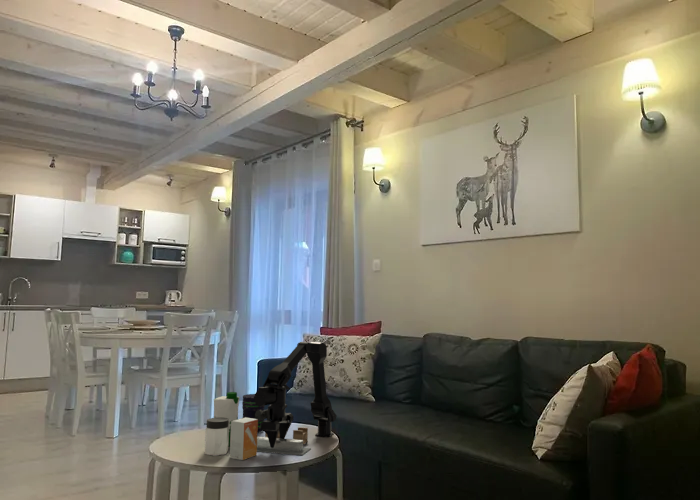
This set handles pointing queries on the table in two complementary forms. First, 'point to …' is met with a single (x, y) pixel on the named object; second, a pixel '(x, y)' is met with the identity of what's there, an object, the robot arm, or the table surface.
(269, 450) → the mat
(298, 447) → the long white bar
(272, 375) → the robot arm
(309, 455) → the table surface
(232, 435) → the small box
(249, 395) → the storage jar
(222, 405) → the milk carton
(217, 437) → the jar
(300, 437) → the post
